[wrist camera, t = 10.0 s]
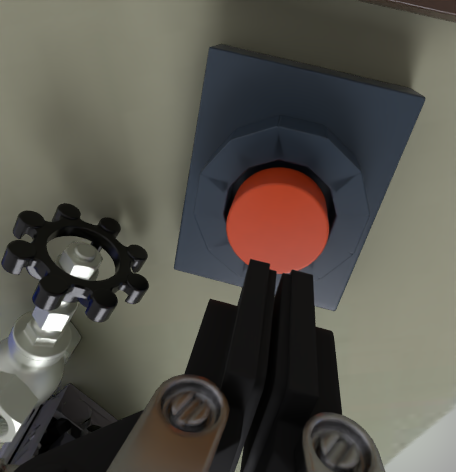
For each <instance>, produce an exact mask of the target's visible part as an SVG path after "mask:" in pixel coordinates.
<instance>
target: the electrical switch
mask: <svg viewBox="0 0 456 472" xmlns="http://www.w3.org/2000/svg"><path fill="white" fill-rule="evenodd" d="M81 400H83V401H81ZM64 403H65V404H64ZM90 408H91V409H92V411H91V409H90ZM90 416H91V419H90V420H89V421H88V422H85V423H82V422H84V421H85V420H87V419H89V418H90ZM116 421H118V420H117V419H115V418H114V417H113V416H111V415H110V414H109V413H108V412H106V411H105V410H104V409H102V408H101V407H100V406H99V405H97V404H96V403H95V402H94V401H92V400H91V399H90V398H88V397H87V396H86V395H85V394H83V393H82V392H81V391H79V390H78V389H77V388H76V387H74V386H73V385H72V384H68V385H67V386H66V387H65V388H64V389H63V390H62V391H61V392H60V393H59V394H57V395H55V396H53V397H52V398H51V399H50V400H46V401H45V402H43V403H42V404H41V405H39V406H37V407H36V408H34V409H33V410H32V411H31V413H30V415H29V417H28V418H27V420H26V421H25V423H24V424H23V425H22V427H21V428H20V430H19V431H18V433H17V434H16V436H15V437H14V438H13V440H12V441H11V442H5V443H4V445H3V446H2V448H1V450H0V458H4V459H5V464H13V465H21V464H23V463H25V462H26V461H28V460H30V459H32V458H33V457H35V456H37V455H40V454H42V453H44V452H47V451H49V450H51V449H54V448H56V447H58V446H61V445H63V444H65V443H68V442H70V441H72V440H75V439H77V438H79V437H82V436H84V435H86V434H89V433H91V432H89V431H88V430H87V428H88V427H90V426H91V425H93V424H94V425H97V426H100V427H101V428H103V427H105V426H107V425H110V424H112V423H114V422H116ZM80 423H82V424H80Z"/></svg>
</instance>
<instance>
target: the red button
mask: <svg viewBox="0 0 456 472" xmlns="http://www.w3.org/2000/svg"><path fill="white" fill-rule="evenodd" d="M226 232H227V237H228V240H229V243H230V245H231V247H232V249H233V250H234V252H235V253H236V254H237V256H238V257H239V258H240V259H241V260H242V261H243V262H245V263H246V264H247V265H249V261H250V259H254V260H257V261H261V262H265V263H269V264H270V269H271V270H274V271H277V274H282V273H290V272H291V270H296V271H298V270H301V269H303V268H305V267H307V266H308V265H310V264H311V263H312V262H313V261H315V260H316V259H317V258H318V256H319V255H320V254H321V253H322V251H323V250H324V248H325V246H326V243H327V240H328V236H329V221H328V213H327V206H326V201H325V198H324V195H323V193H322V191H321V189H320V188H319V186H318V185H317V184H316V183H315V182H314V181H313V180H312V179H311V178H310V177H309V176H307V175H305V174H304V173H302V172H300V171H297V170H294V169H291V168H285V167H274V168H268V169H264V170H261V171H259V172H257V173H254V174H253V175H251V176H250V177H249V178H247V179H246V180H245V181H244V182H243V183H242V185H241V186H240V187H239V189H238V190H237V193H236V195H235V197H234V200H233V202H232V205H231V208H230V210H229V213H228V216H227V222H226Z"/></svg>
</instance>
